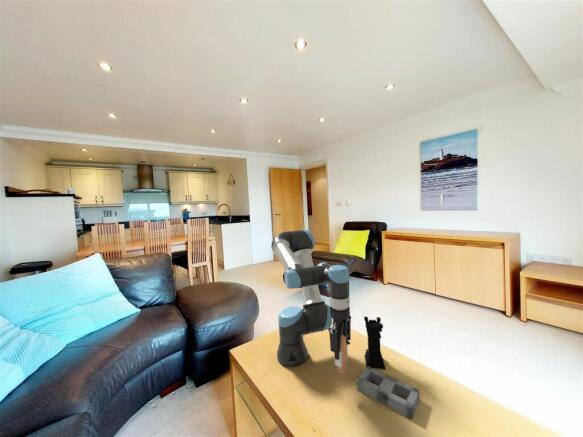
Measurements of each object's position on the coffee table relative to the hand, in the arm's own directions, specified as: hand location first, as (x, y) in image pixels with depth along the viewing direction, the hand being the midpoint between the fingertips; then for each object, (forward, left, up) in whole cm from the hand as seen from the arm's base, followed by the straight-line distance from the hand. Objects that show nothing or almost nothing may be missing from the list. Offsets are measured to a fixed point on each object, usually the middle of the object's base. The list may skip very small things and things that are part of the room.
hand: (341, 362), depth 93 cm
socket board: (+15, +9, -12) cm, 21 cm away
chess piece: (+4, +23, -12) cm, 26 cm away
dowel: (0, 0, -3) cm, 3 cm away
